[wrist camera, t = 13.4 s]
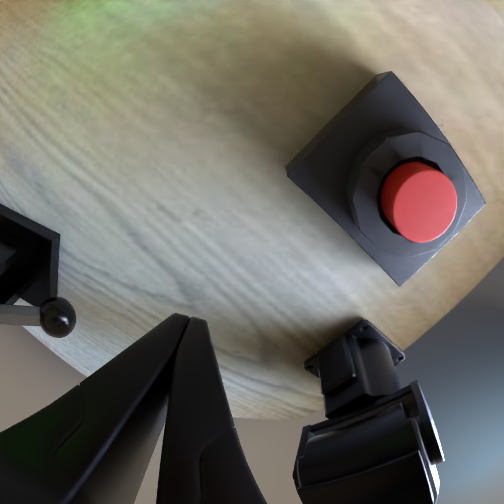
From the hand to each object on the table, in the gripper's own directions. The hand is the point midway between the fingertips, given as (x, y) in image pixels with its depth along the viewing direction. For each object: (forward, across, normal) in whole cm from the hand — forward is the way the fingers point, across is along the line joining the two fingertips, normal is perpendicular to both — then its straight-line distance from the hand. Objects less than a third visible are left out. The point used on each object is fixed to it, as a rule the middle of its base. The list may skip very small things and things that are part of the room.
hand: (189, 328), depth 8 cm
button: (+8, -9, -3) cm, 12 cm away
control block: (+12, -9, -3) cm, 15 cm away
